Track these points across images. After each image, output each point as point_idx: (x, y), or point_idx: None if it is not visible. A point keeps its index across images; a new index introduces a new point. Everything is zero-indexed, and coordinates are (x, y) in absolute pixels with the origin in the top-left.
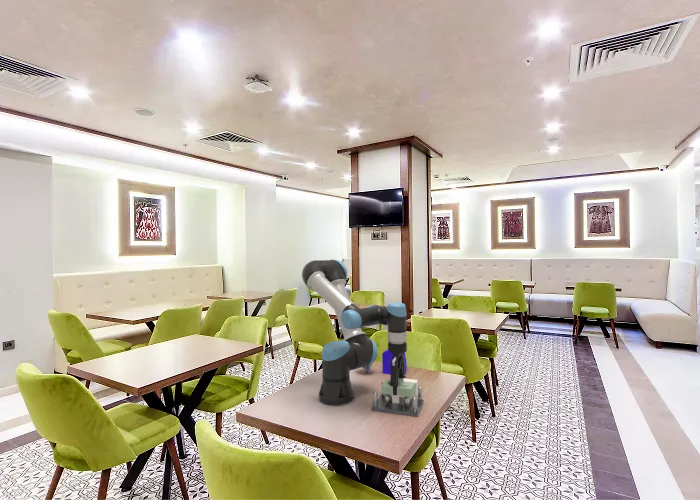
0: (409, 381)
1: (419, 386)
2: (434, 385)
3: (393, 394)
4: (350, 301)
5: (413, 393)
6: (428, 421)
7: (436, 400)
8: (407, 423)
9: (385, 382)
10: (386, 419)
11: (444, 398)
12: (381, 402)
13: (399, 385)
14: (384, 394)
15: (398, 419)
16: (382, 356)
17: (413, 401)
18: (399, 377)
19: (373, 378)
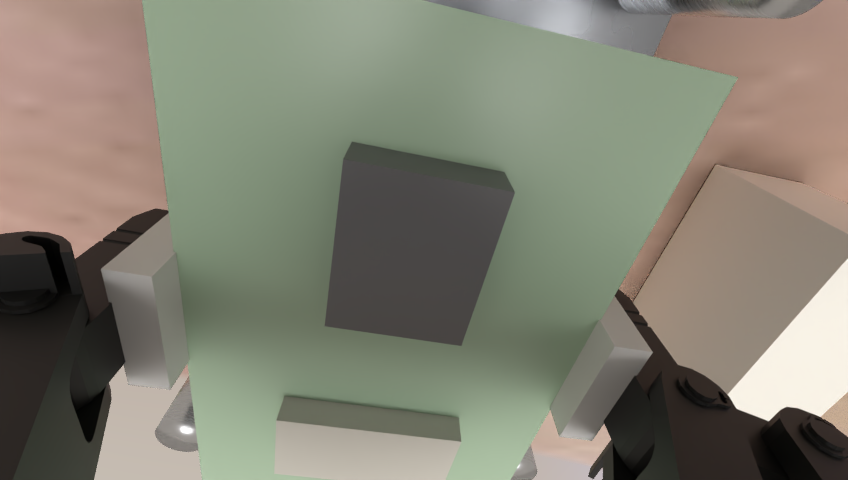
0: (774, 374)
1: (532, 469)
2: (833, 422)
3: (146, 221)
4: None
5: (649, 317)
6: (184, 375)
7: (544, 422)
8: (74, 256)
9: (466, 67)
10: (44, 65)
11: (575, 456)
12: None
13: (320, 362)
14: (632, 1)
15: (110, 185)
16: None
17: (179, 393)
18: (639, 401)
19: None
